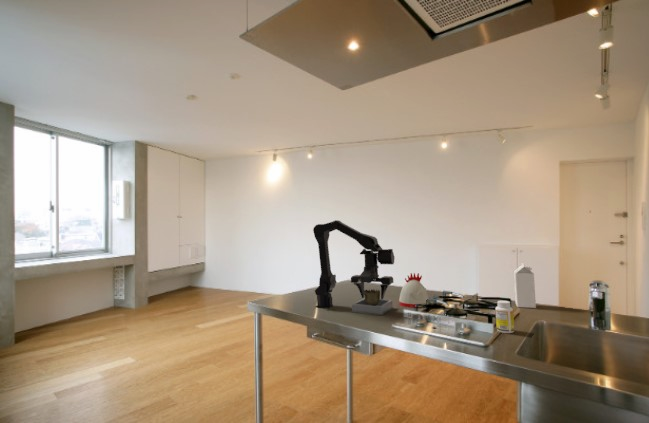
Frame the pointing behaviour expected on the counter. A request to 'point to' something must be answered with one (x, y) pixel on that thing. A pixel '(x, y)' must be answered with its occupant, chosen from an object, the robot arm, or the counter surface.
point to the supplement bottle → (504, 317)
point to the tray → (372, 307)
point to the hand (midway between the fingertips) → (372, 298)
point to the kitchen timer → (413, 292)
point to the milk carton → (524, 287)
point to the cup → (372, 297)
